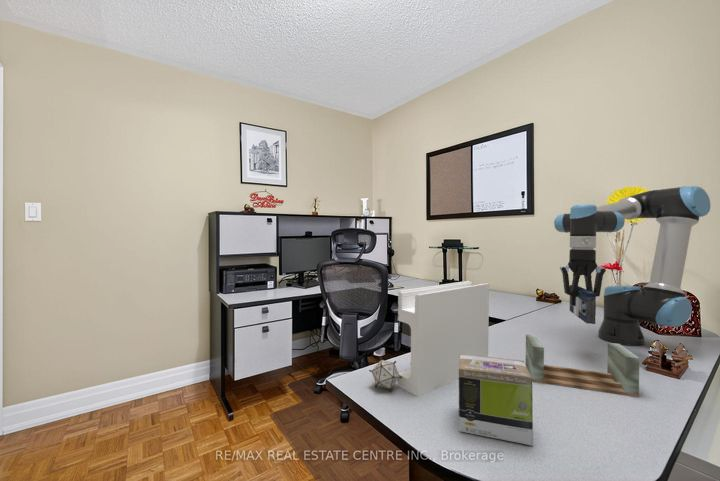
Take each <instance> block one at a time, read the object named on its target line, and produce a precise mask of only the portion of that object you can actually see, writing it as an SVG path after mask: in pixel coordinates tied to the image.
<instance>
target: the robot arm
mask: <svg viewBox="0 0 720 481" xmlns="http://www.w3.org/2000/svg"><path fill="white" fill-rule="evenodd" d="M710 211H711V200H710V196H709V194H708V192H706V190H705V189H704V188H702V186H701V187H700V186H697V185H688V186H686V185H683V186H680V187H679V186H678V187H671V188H670V187H669V188H663V189H653V190H648V191H644V192H640V193H637V194H633V195H630V196H626V197H623V198H621V199H620V200H618V201H617V202H612V203H608V204H604V205H599V206H597V205H595V204H594V203H593V204H590V203H589V204H588V203H587V204H575V205H572V206H571V207H570V211H569V212H570V213H563V214H558V215H556V217H555V218H554V221H553V225H554V229H555V230H556V231H557V232H559V233H565V234H567V233H569V248H570V249H569V258H568V259H569V260H568V263H567V265H565V266H560V267H559V270H560V272H561V273H562V282H563V283H562V284H563V291H564V294H566V295H567V296H569V297H570V296H571V305H572V306H574V314H573V315H574V316H576V317H577V316H579V297H577V296H576V295H577V289H578V286H579V282H580V279H581V276H583V278H584V283H585V289H586V290H588V291H591V292H593V293H594V294H596V298H597V297H600V296H601V289H602V284H603V278H604V274H605V273H606V271H607V270H606V268H603V267H601V266H598V264H597V261H596V260H597V251H596V247H597V233H610V234H611V233H615V232H619V231H620V230H622V229H623V228H624V226H625V220H627V221H629V220H630V221H631V220H634V219H655V220H656V222H658V224H659V225H660V227H659V230H658V235H657V241H656V245H655V251H654V257H653V263H652V268H651V273H650V278H649V283H647V284H645V285H644V286H643V287H642V290H641V287H640V286H637V285H635V286H634V285H632V286H631V285H612V286H611V285H610V286H606V287H605V288H604V293H603V320H602V322H601V324H600V326H599V328H598V331H597V332H598V333H597V334H598V335H597V336H598V338H599V339H602V340H604V341H606V342H608V343H616V344H620V345H622V346H624V345H625V346H631V347H632V346H635V347H637V346H638V347H639V346H644V345H645V336H644V334H643V331H642V328H641V326H640V321H642V322H647V323H651V324H654V325H658V326H663V327H669V328H678V327H681V326H683V325H684V324H686V322H688V320H689V319H690V316H691V314H692V311H693V310H692V309H693V306H692V302H691V301H690V299H688V298H687V297H686V293H685V292H684V290H682V282H683V275H684V271H685V265H686V259H687V255H688V248H689V242H690V238H691V232H692V227H693V226H696V225H697V224H699V221H700V218H702V217H705V216H707V215H708V214H709V213H710ZM569 270H571V272H572V282H571V284H570V278H569ZM594 271H595V272H596V273H595V278H594V284H593V280H592V278H593V277H592V274H593V273H594ZM570 285H572V287H571V292H570Z"/></svg>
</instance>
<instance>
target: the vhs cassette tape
mask: <svg viewBox="0 0 720 481" xmlns="http://www.w3.org/2000/svg"><path fill="white" fill-rule="evenodd" d="M569 285H570V292H571V287H572V284H569ZM576 296H577V297H579V316H576V317H577V318H579V319H580V320H581V321H583V322H584V323H585V324H589V325H590V324H591V325H595V324H596V317H597V316H596V310H597V306H596V305H597V301H596V299H597V297H596V294H594V293H593V292H591V291H588V290H586V288H585V287H584V288H583V287H582V286H579V285H578V289H577V295H576ZM569 312H571V314H573V315H574V306H572V305H571V296H570V295H569Z"/></svg>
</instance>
